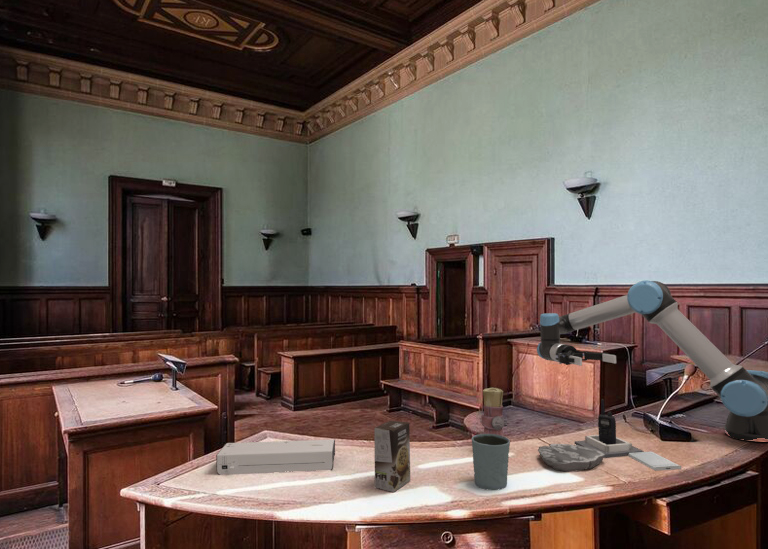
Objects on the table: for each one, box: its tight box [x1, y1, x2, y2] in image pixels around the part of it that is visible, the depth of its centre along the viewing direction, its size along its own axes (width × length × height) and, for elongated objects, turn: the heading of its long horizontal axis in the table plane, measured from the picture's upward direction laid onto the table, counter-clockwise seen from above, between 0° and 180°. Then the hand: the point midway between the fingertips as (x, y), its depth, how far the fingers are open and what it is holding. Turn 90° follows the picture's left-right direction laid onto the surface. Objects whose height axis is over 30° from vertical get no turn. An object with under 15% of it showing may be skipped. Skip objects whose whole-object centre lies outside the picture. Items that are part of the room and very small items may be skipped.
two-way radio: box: [597, 398, 617, 445], centre depth 158 cm, size 6×4×15 cm
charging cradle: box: [574, 434, 645, 459], centre depth 158 cm, size 15×14×3 cm
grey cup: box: [471, 433, 511, 491], centre depth 132 cm, size 10×10×12 cm
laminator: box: [215, 439, 336, 476], centre depth 148 cm, size 34×12×6 cm, turn 93°
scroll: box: [479, 387, 505, 436], centre depth 158 cm, size 8×8×20 cm
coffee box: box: [373, 420, 411, 493], centre depth 133 cm, size 9×6×16 cm
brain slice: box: [537, 443, 605, 472], centre depth 147 cm, size 20×17×3 cm
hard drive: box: [627, 451, 682, 472], centre depth 145 cm, size 2×8×12 cm
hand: (598, 360), depth 171 cm, fingers open, 13 cm apart
